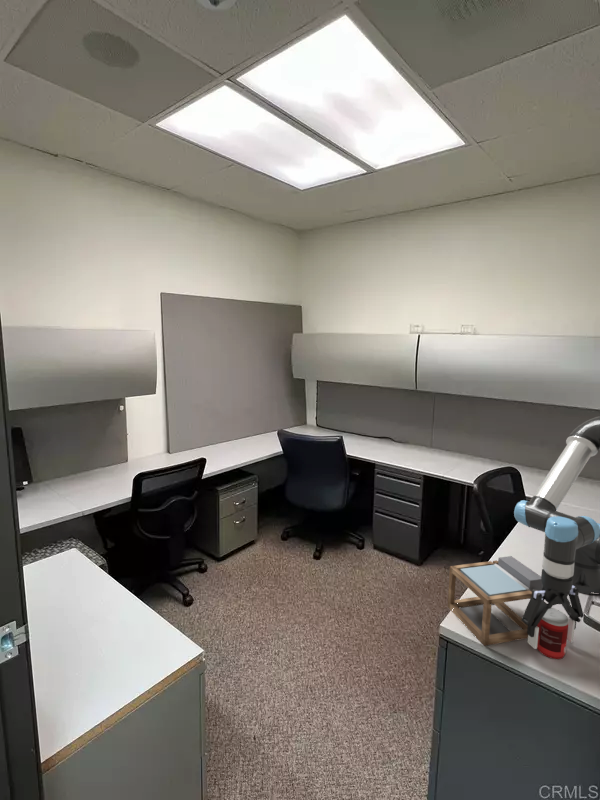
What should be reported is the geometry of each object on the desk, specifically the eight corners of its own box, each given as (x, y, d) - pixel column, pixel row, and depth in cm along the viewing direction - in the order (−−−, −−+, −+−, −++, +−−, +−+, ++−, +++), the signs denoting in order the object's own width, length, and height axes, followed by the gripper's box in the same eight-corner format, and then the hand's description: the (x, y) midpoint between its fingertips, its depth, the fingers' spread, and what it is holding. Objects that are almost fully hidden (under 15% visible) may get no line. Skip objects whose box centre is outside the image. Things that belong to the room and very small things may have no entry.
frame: (493, 599, 145) (496, 560, 143) (535, 636, 127) (539, 592, 125) (447, 606, 141) (449, 566, 139) (483, 645, 123) (487, 600, 121)
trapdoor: (509, 572, 143) (510, 555, 142) (543, 597, 128) (544, 579, 128) (459, 578, 138) (460, 561, 137) (488, 605, 124) (490, 586, 123)
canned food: (553, 640, 126) (557, 606, 124) (571, 659, 118) (575, 624, 116) (528, 640, 125) (531, 606, 124) (545, 660, 118) (548, 624, 116)
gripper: (580, 561, 125) (573, 627, 128) (511, 570, 119) (505, 639, 122) (603, 574, 118) (595, 645, 120) (531, 584, 112) (524, 658, 115)
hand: (550, 642), depth 121 cm, fingers open, 12 cm apart
